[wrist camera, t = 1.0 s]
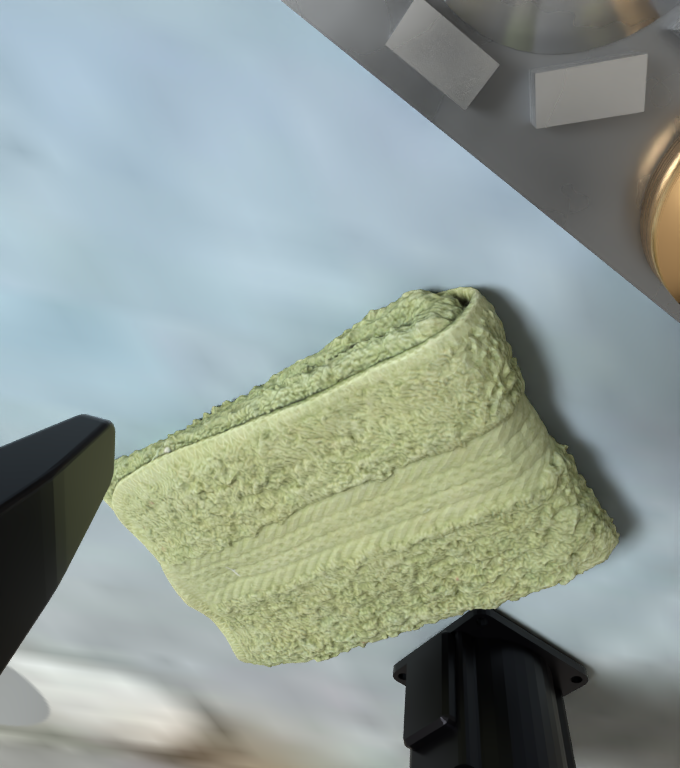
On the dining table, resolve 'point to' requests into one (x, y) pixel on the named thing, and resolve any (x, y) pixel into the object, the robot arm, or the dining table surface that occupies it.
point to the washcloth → (366, 489)
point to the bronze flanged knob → (663, 221)
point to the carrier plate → (537, 99)
